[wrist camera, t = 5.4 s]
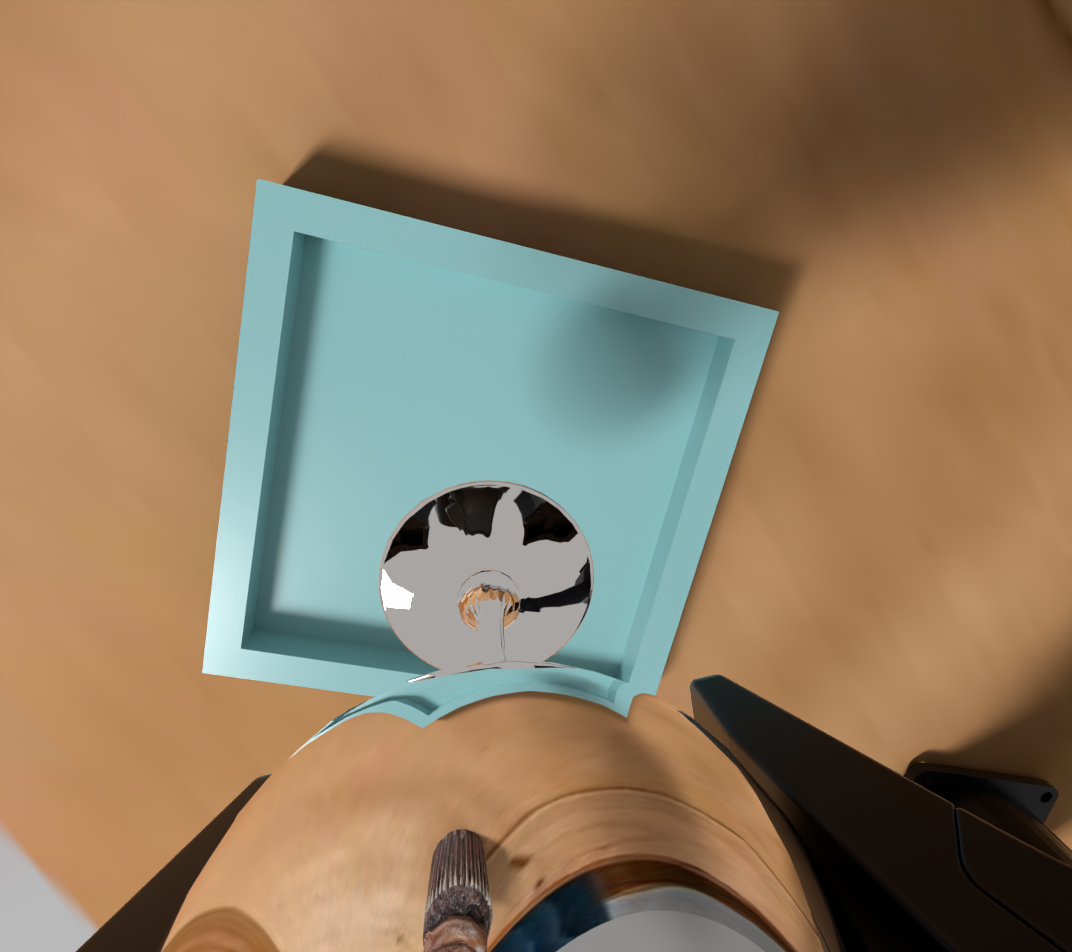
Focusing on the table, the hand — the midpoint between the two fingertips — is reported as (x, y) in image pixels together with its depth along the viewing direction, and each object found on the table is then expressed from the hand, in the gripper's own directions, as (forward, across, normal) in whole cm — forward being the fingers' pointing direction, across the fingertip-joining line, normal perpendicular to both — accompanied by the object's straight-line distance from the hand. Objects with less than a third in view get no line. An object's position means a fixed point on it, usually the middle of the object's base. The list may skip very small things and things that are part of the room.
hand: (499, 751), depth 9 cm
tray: (+12, 0, 0) cm, 12 cm away
